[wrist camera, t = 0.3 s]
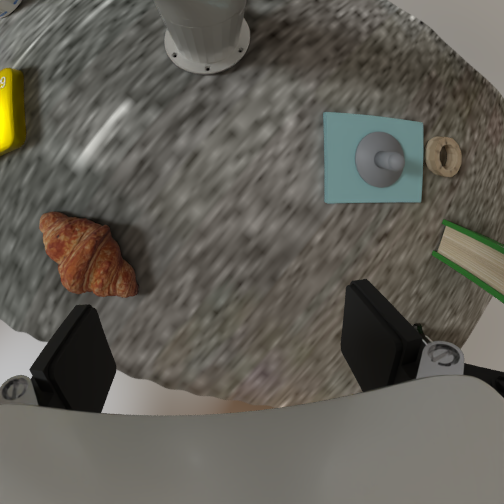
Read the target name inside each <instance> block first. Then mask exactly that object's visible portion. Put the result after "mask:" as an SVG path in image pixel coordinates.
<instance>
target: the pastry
mask: <svg viewBox="0 0 504 504" xmlns="http://www.w3.org/2000/svg"><path fill="white" fill-rule="evenodd" d="M39 229H40V230H41V232H43V242H44V245H45V249H46V253H47V255H48V256H49V257H50V258H51V259H52V260H54V261H55V262H57V263H58V264H59V265H58V270H59V274H60V275H61V282H62V284H63V286H64V287H65V288H67V290H68V291H70V292H72V293H76V294H81V293H85V292H87V291H88V292H92V291H93V293H94V294H95V295H97V296H101V297H106V296H116V295H117V296H121V297H122V298H123V297H125V298H127V297H129V296H135V295H137V294H138V288H139V285H138V284H137V283H136V278H135V272H134V269H133V268H132V266H131V265H130V264H128V263H127V262H126V261H125V260H123V259H122V257H121V251H120V248H119V245H118V243H117V241H115V240H114V239H113V238H112V236H111V232H110V228H109V227H108V226H107V225H104V226H102V225H100V224H97V223H94V222H93V221H90V220H87V219H86V218H84V219H79V218H76V217H68V216H66V215H65V214H63V213H60V212H49V213H45V214H43V215H42V216H41V218H40V227H39Z"/></svg>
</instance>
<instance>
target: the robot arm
mask: <svg viewBox="0 0 504 504" xmlns="http://www.w3.org/2000/svg"><path fill="white" fill-rule="evenodd" d="M153 1H154V2H155V4H156V6H157V8H158V10H159V13H160V15H161V17H162V19H163V21H164V23H165V25H166V27H167V30H166V33H165V40H164V42H165V49H166V52H167V54H168V56H169V58H170V59H171V60H172V61H173V63H174V64H175V65H177V66H178V67H179V68H181V69H183V70H185V71H187V72H190V73H193V74H200V75H210V74H215V73H220V72H222V71H225V70H227V69H229V68H231V67H232V66H234V65H235V64H236V63H238V62H239V61H240V60H241V58H242V57H243V56H244V55H245V53H246V51H247V49H248V46H249V42H250V29H249V26H248V24H247V22H246V20H245V18H244V17H243V16H244V11H245V6H246V1H247V0H153ZM238 51H242V52H241V53H239V52H238ZM175 55H177V57H175V58H174V56H175ZM207 68H209V69H210V70H209V71H207V70H206V69H207ZM422 339H423V337H422V336H421V335H420V334H419V333H418V332H417V331H416V330H415V329H414V327H413V326H412V325H411V324H410V323H409V322H408V321H407V320H406V319H405V318H404V317H403V316H402V315H401V314H400V313H399V312H398V311H397V309H396V308H395V307H394V306H393V305H392V304H391V303H390V302H389V301H388V300H387V299H386V298H385V297H384V296H383V295H382V294H381V293H380V292H379V291H378V290H377V289H376V288H375V287H374V286H373V285H372V284H371V283H370V282H369V281H368V280H367V279H363V280H356V281H352V282H351V284H350V285H348V286H347V287H346V295H345V307H344V318H343V328H342V337H341V351H342V354H343V355H344V357H345V359H346V361H347V363H348V365H349V367H350V368H351V370H352V372H353V374H354V376H355V378H356V380H357V381H358V383H359V385H360V387H361V389H362V391H363V392H361V393H357V394H352V395H348V396H343V397H339V398H334V399H329V400H324V401H319V402H313V403H307V404H301V405H295V406H288V407H282V408H274V409H266V410H258V411H249V412H238V413H226V414H210V415H188V416H187V415H186V416H148V415H122V414H107V413H101V412H102V409H103V406H104V403H105V400H106V398H107V395H108V392H109V390H110V386H111V384H112V381H113V379H114V376H115V373H116V364H115V361H114V358H113V356H112V353H111V350H110V348H109V345H108V342H107V339H106V337H105V334H104V331H103V328H102V325H101V322H100V319H99V316H98V313H97V310H96V309H95V308H93V307H92V306H91V305H76V306H75V307H74V309H73V310H72V311H71V312H70V314H69V315H68V316H67V318H66V319H65V320H64V322H63V323H62V324H61V326H60V327H59V328H58V330H57V331H56V332H55V334H54V335H53V336H52V338H51V339H50V341H49V342H48V343H47V345H46V346H45V348H44V349H43V350H42V352H41V353H40V355H39V356H38V358H37V359H36V361H35V362H34V363H33V365H32V366H31V368H30V372H31V373H32V375H33V376H32V378H31V379H30V378H29V377H27V376H24V375H18V376H14V377H11V378H10V379H8V380H7V381H6V382H4V383H3V384H2V386H1V387H0V504H504V372H500V371H496V370H491V369H487V368H483V367H478V366H474V365H470V364H466V363H464V355H463V352H462V351H461V349H459V348H458V347H457V346H456V345H454V344H452V343H449V342H446V341H434V342H431V343H428V344H427V345H426V344H425V343H424V342H423V341H422Z"/></svg>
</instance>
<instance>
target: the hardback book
mask: <svg viewBox="0 0 504 504" xmlns="http://www.w3.org/2000/svg"><path fill="white" fill-rule="evenodd" d="M442 224H444V225H446V228H445V231H444V234H443V237H442V240H441V243H440V246H439V249H438V252H437V251H433V252H432V255H433V256H434V257H436V258H438V259H439V260H441V261H442V262H444V263H445V264H447V265H448V266H450V267H452V268H453V269H455V270H456V271H458V272H459V273H461V274H462V275H464V276H465V277H467V278H468V279H470V280H471V281H473V282H474V283H476V284H477V285H478V286H480V287H481V288H483V289H484V290H486V291H487V292H488V293H490V294H491V295H493V296H494V297H495V298H497V299H498V300H500V301H501V302H502V303H504V245H503V244H501V243H499V242H497V241H495V240H493V239H491V238H489V237H486V236H484V235H481V234H479V233H477V232H474V231H472V230H469V229H467V228H464V227H462V226H459V225H457V224H454V223H452V222H449V221H447V220H444V219H443V222H442Z"/></svg>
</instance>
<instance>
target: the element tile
mask: <svg viewBox="0 0 504 504" xmlns="http://www.w3.org/2000/svg"><path fill="white" fill-rule="evenodd" d="M25 139H26V125H25V110H24V76H23V73H22V72H21V71H20V70H16V69H12V68H5V69H3V70H1V71H0V156H2V155H4V154H6V153H9V152H11V151H13V150H15V149H18V148H19V147H21V146H22V145H23V144H24V142H25Z"/></svg>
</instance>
